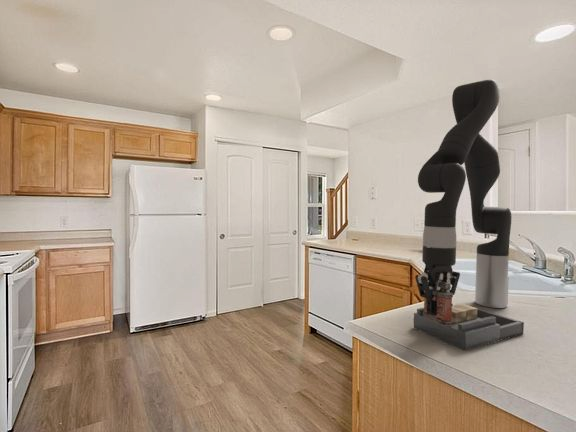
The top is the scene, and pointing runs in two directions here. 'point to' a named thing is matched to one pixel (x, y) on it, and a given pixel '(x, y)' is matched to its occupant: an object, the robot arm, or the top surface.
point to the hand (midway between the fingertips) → (437, 313)
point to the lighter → (441, 306)
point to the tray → (504, 324)
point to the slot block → (460, 330)
